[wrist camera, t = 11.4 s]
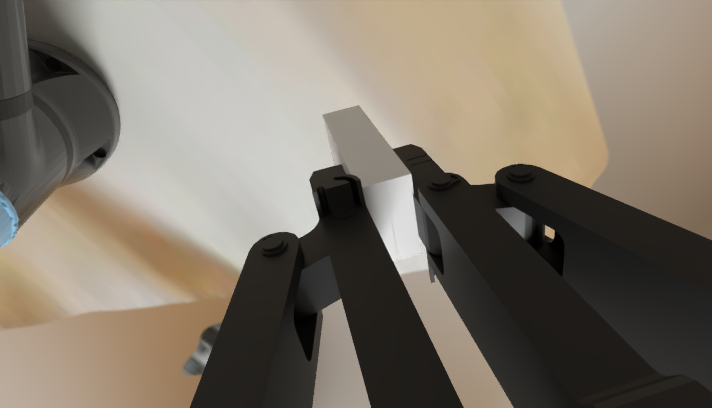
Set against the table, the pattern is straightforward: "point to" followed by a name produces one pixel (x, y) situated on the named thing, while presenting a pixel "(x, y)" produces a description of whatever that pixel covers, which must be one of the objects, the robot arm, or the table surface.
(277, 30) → the table surface
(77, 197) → the table surface
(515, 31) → the table surface
